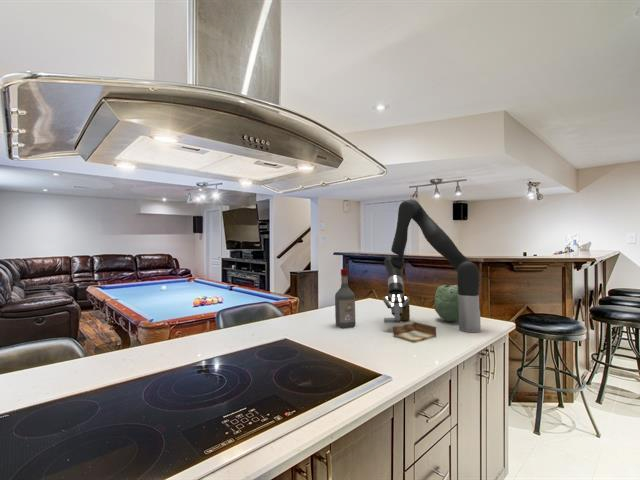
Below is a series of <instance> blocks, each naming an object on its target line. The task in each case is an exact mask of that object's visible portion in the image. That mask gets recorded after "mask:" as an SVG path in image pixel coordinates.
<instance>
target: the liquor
mask: <svg viewBox="0 0 640 480" xmlns="http://www.w3.org/2000/svg"><path fill="white" fill-rule="evenodd" d="M348 275H349V269H348V268H342V269H341V268H340V276H341V277H340V278H341V279H340V281H341V282H340V283H341V284H340V288H339V289H338V290H337V292H335V295H334V308H335V312H334V313H335V315H334V317H335V318H334V319H335V326H336V327H338V328H340V329H349V328H354V327H355V326H356V296H355V293H354V292H353V291H352V290H351V288H350V287H349V281H348V280H349V276H348Z"/></svg>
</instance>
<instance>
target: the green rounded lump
mask: <svg viewBox="0 0 640 480" xmlns="http://www.w3.org/2000/svg"><path fill="white" fill-rule="evenodd" d="M433 309H434V311H435V313H436V314H437V315H438V317H440V318H441V319H442V320H443V321H446V322H456V321H459V305H458V284H455V285H452V284H451V285H446V284H443V285H439V286H438V287H437V289H436V291H435V295H434V307H433Z"/></svg>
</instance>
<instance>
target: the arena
mask: <svg viewBox="0 0 640 480" xmlns="http://www.w3.org/2000/svg"><path fill="white" fill-rule="evenodd" d="M392 334H393V333H392ZM436 337H437V334H436V335H432V334H429V333H425V332H421V331H417V330H414V331H410V332H406V333H402V334H397V335H394V334H393V338H397V339H400V340H402V341H403V340H404V341H407V342H411V343H414V344H415V343H418V342H423V341H425V340H426V341H427V340H429V339H434V338H436Z"/></svg>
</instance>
